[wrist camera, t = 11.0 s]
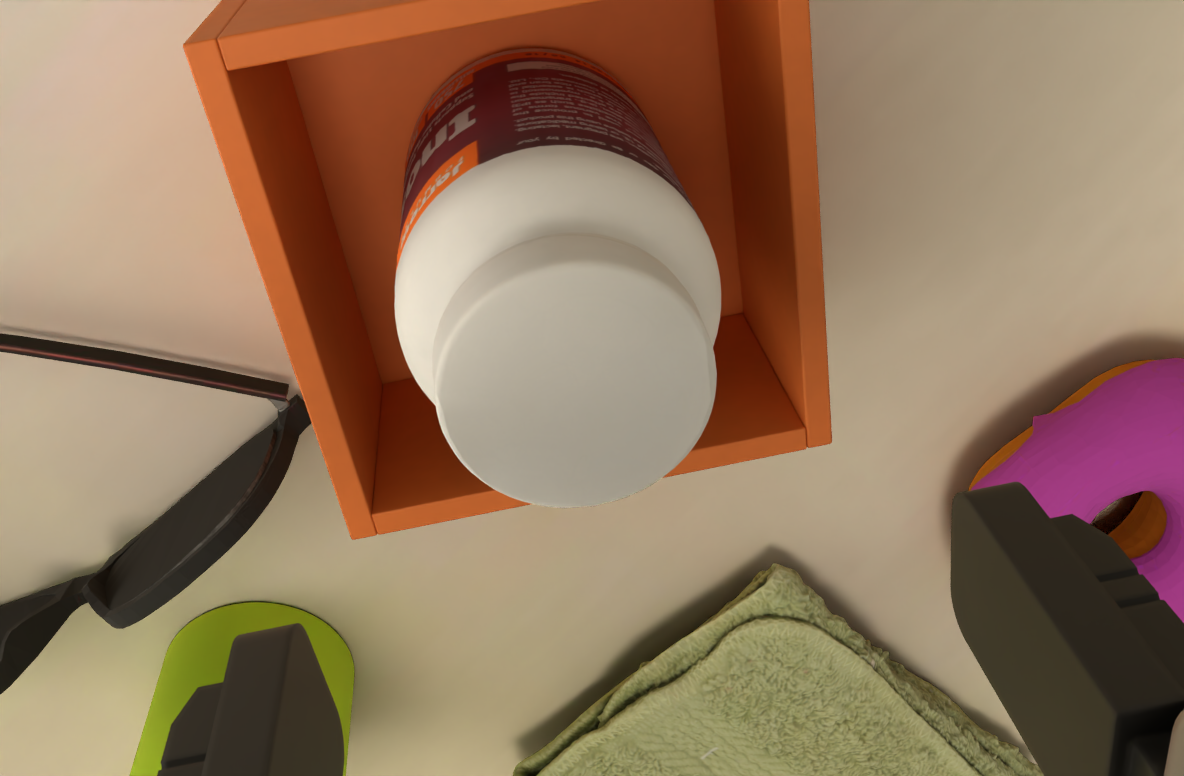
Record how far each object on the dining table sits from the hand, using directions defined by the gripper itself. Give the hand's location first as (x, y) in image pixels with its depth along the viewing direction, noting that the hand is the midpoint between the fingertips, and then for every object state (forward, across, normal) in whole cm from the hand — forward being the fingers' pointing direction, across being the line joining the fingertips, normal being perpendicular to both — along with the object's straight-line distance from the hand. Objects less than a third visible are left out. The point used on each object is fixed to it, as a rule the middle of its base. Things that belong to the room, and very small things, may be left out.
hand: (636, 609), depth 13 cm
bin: (+17, 0, 0) cm, 17 cm away
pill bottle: (+16, 0, 0) cm, 16 cm away
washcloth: (+17, -5, +24) cm, 30 cm away
